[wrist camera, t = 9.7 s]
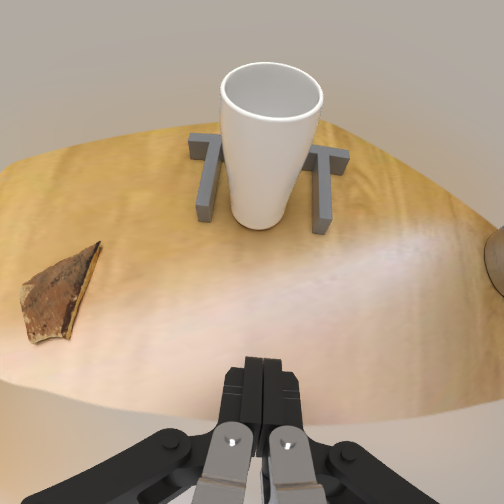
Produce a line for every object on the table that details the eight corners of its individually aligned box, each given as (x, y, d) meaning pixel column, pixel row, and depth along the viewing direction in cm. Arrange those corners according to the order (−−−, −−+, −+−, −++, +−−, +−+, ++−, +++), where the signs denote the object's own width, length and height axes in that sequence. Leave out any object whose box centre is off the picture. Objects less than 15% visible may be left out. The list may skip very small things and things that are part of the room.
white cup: (216, 189, 33) (209, 67, 19) (278, 176, 34) (300, 57, 20) (233, 246, 30) (234, 129, 16) (300, 229, 31) (343, 115, 17)
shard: (105, 246, 30) (99, 239, 28) (129, 314, 27) (123, 309, 26) (24, 288, 27) (15, 283, 26) (40, 355, 25) (31, 353, 23)
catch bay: (341, 167, 35) (348, 150, 32) (346, 237, 31) (355, 222, 28) (193, 151, 35) (190, 132, 32) (175, 219, 31) (170, 202, 28)
